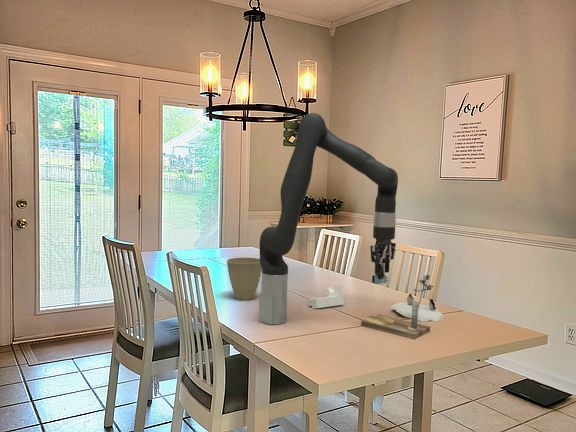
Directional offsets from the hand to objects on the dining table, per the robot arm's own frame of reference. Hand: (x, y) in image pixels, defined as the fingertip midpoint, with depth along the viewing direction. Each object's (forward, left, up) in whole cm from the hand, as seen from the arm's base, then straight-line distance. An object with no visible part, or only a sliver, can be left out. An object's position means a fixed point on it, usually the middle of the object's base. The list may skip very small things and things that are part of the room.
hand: (382, 273), depth 176 cm
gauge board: (0, -6, -18) cm, 19 cm away
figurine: (+23, -3, -19) cm, 30 cm away
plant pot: (-9, +59, -19) cm, 62 cm away
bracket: (+7, +29, -19) cm, 35 cm away
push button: (+1, 0, -4) cm, 4 cm away
